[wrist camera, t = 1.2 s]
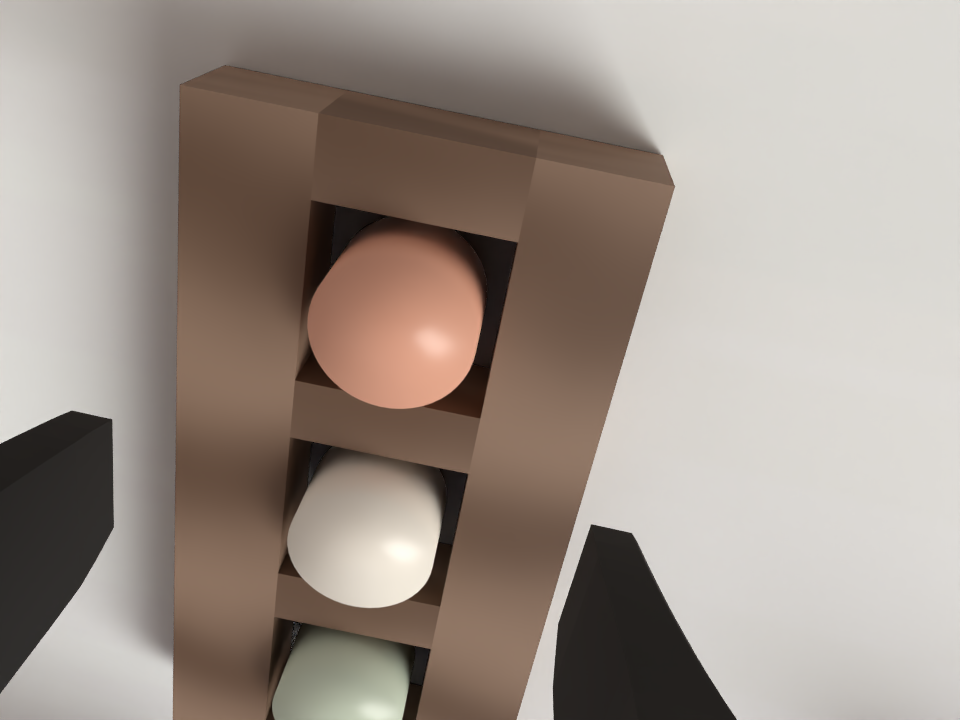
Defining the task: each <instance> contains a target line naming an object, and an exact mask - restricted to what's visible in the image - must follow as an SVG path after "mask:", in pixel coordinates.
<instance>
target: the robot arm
mask: <svg viewBox="0 0 960 720" xmlns="http://www.w3.org/2000/svg"><path fill="white" fill-rule="evenodd" d="M113 528H114V510H113V439H112V419H107V418H103V417H98V416H94V415H89V414H85V413H80V412H75V411H70V412H68V413H65V414H63V415H60V416H58V417H56V418H54V419H51V420H49V421H47V422H45V423H43V424H41V425H38V426H36V427H34V428H32V429H30V430H28V431H26V432H24V433H22V434H20V435H18V436H15V437H13V438H11V439H9V440H7V441H5V442H3V443H1V444H0V693H1V692H2V690H3V689H4V688H5V687H6V685H7V684H8V683H9V681H10V680H11V679H12V677H13V676H14V675H15V673H16V672H17V671H18V669H19V668H20V667H21V665H22V664H23V663H24V661H25V660H26V659H27V657H28V656H29V655H30V654H31V652H32V651H33V650H34V648H35V647H36V646H37V644H38V643H39V642H40V640H41V639H42V638H43V636H44V635H45V634H46V632H47V631H48V630H49V628H50V627H51V626H52V624H53V623H54V622H55V620H56V619H57V618H58V616H59V615H60V614H61V612H62V611H63V610H64V608H65V607H66V606H67V604H68V603H69V601H70V600H71V599H72V597H73V596H74V595H75V593H76V592H77V590H78V589H79V588H80V586H81V585H82V583H83V581H84V580H85V578H86V576H87V574H88V573H89V571H90V569H91V568H92V566H93V564H94V562H95V561H96V559H97V557H98V555H99V553H100V552H101V550H102V548H103V546H104V544H105V542H106V541H107V539H108V537H109V535H110V533H111V531H112V530H113ZM553 710H554V720H737V719H736V718H735V716H734V715H733V713H732V712H731V710H730V709H729V707H728V706H727V704H726V703H725V701H724V700H723V698H722V697H721V695H720V693H719V692H718V690H717V689H716V687H715V686H714V684H713V682H712V681H711V679H710V678H709V676H708V675H707V673H706V671H705V670H704V668H703V666H702V665H701V663H700V661H699V660H698V658H697V656H696V655H695V653H694V651H693V649H692V647H691V646H690V644H689V642H688V640H687V639H686V637H685V635H684V633H683V631H682V630H681V628H680V626H679V624H678V623H677V621H676V619H675V617H674V615H673V613H672V611H671V610H670V608H669V606H668V604H667V602H666V600H665V598H664V596H663V594H662V592H661V590H660V588H659V586H658V584H657V582H656V580H655V578H654V576H653V574H652V572H651V570H650V568H649V566H648V564H647V562H646V560H645V558H644V555H643V553H642V551H641V549H640V547H639V545H638V543H637V541H636V539H635V538H634V536H633V534H632V533H628V532H624V531H619V530H615V529H610V528H606V527H601V526H596V525H592V524H591V527H590V530H589V533H588V536H587V539H586V542H585V545H584V548H583V551H582V554H581V557H580V560H579V563H578V566H577V569H576V572H575V575H574V578H573V581H572V584H571V587H570V590H569V593H568V596H567V599H566V602H565V605H564V608H563V611H562V614H561V617H560V620H559V623H558V633H557V644H556V655H555V667H554V681H553Z"/></svg>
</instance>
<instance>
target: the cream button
mask: <svg viewBox="0 0 960 720" xmlns="http://www.w3.org/2000/svg"><path fill="white" fill-rule="evenodd" d="M446 500H447V490H446V485H445V481H444V478H443V476H442V474H441V472H440V470H439V468H438V467H433V466H428V465H423V464H418V463H413V462H408V461H403V460H399V459H394V458H389V457H384V456H379V455H374V454H369V453H365V452H360V451H355V450H350V449H345V448H340V447H335V446H333V447H332V448H330V449H329V450H328V451H327V452H326V453H325V455H324V456H323V457H322V459H321V460H320V462H319V464H318V466H317V468H316V471H315V473H314V475H313V477H312V479H311V481H310V484H309V486H308V488H307V490H306V492H305V494H304V497H303V499H302V501H301V503H300V505H299V507H298V510H297V512H296V514H295V516H294V518H293V520H292V522H291V525H290V528H289V531H288V537H287V545H288V552H289V555H290V558H291V561H292V563H293V565H294V567H295V569H296V570H297V572H298V573H299V575H300V576H301V577H302V578H303V579H304V580H305V581H306V582H307V583H308V584H309V585H310V586H311V587H312V588H314V589H315V590H316V591H318V592H319V593H321V594H323V595H324V596H326V597H328V598H330V599H332V600H334V601H337V602H340V603H342V604H346V605H350V606H355V607H362V608H380V607H387V606H391V605H395V604H398V603H400V602H403V601H405V600H407V599H409V598H410V597H412V596H413V595H415V594H416V593H417V592H418V591H419V590H420V589H421V588H422V587H423V586H424V585H425V583H426V582H427V580H428V578H429V576H430V574H431V571H432V568H433V563H434V558H435V554H436V549H437V544H438V540H439V535H440V530H441V525H442V521H443V516H444V511H445V507H446Z"/></svg>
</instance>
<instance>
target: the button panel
mask: <svg viewBox="0 0 960 720" xmlns="http://www.w3.org/2000/svg"><path fill="white" fill-rule="evenodd" d="M674 188H675V185H674V183H673V180H672V178H671V175H670V173H669V170H668V167H667V165H666V162H665V160H664V157H663V155H659V154H654V153H650V152H645V151H640V150H635V149H630V148H625V147H620V146H615V145H611V144H606V143H601V142H596V141H591V140H586V139H581V138H577V137H572V136H567V135H562V134H557V133H552V132H547V131H543V130H538V129H533V128H528V127H523V126H518V125H513V124H508V123H504V122H499V121H494V120H489V119H484V118H479V117H474V116H470V115H465V114H460V113H455V112H450V111H445V110H440V109H436V108H431V107H426V106H421V105H416V104H411V103H406V102H401V101H397V100H392V99H387V98H382V97H377V96H372V95H367V94H363V93H358V92H353V91H348V90H343V89H338V88H333V87H328V86H324V85H319V84H314V83H309V82H304V81H299V80H294V79H290V78H285V77H280V76H275V75H270V74H265V73H260V72H256V71H251V70H246V69H241V68H236V67H231V66H226V65H225V66H222V67H220V68H218V69H215V70H213V71H211V72H208V73H206V74H204V75H201V76H199V77H197V78H194V79H192V80H190V81H187V82H185V83H183V84H180V115H179V205H178V296H177V386H176V477H175V567H174V658H173V720H275V719H274V716H273V711H272V702H273V698H274V695H275V692H276V690H277V687H278V684H279V682H280V679H281V677H282V674H283V671H284V669H285V666H286V663H287V661H288V658H289V656H290V647H291V637H292V628H293V621H297V622H302V623H306V624H311V625H316V626H321V627H326V628H331V629H336V630H341V631H345V632H350V633H355V634H360V635H365V636H370V637H375V638H379V639H384V640H389V641H394V642H399V643H404V644H409V645H413V646H418V647H423V648H428V649H430V651H429V655H428V660H427V665H426V670H425V674H424V679H423V684H422V686H420V685H415V684H409V689H408V694H407V699H406V703H405V708H404V713H403V718H402V720H516V719H517V716H518V712H519V709H520V706H521V702H522V699H523V696H524V692H525V689H526V685H527V682H528V679H529V675H530V672H531V669H532V665H533V662H534V659H535V655H536V652H537V648H538V645H539V642H540V638H541V635H542V632H543V628H544V625H545V622H546V618H547V615H548V611H549V608H550V605H551V601H552V598H553V595H554V591H555V588H556V585H557V581H558V578H559V574H560V571H561V568H562V564H563V561H564V558H565V554H566V551H567V548H568V544H569V541H570V537H571V534H572V531H573V527H574V524H575V521H576V517H577V514H578V511H579V507H580V504H581V500H582V497H583V494H584V490H585V487H586V484H587V480H588V477H589V474H590V470H591V467H592V464H593V460H594V457H595V453H596V450H597V447H598V443H599V440H600V437H601V433H602V430H603V427H604V423H605V420H606V416H607V413H608V410H609V406H610V403H611V400H612V396H613V393H614V390H615V386H616V383H617V379H618V376H619V373H620V369H621V366H622V363H623V359H624V356H625V353H626V349H627V346H628V342H629V339H630V336H631V332H632V329H633V326H634V322H635V319H636V316H637V312H638V309H639V305H640V302H641V299H642V295H643V292H644V289H645V285H646V282H647V279H648V275H649V272H650V269H651V265H652V262H653V258H654V255H655V252H656V248H657V245H658V242H659V238H660V235H661V232H662V228H663V225H664V221H665V218H666V215H667V211H668V208H669V205H670V201H671V198H672V195H673V191H674ZM336 205H338V206H343V207H348V208H353V209H357V210H362V211H367V212H372V213H377V214H382V215H387V216H391V217H396V218H401V219H406V220H411V221H416V222H421V223H425V224H430V225H435V226H440V227H445V228H450V229H455V230H460V231H464V232H469V233H474V234H479V235H484V236H489V237H494V238H498V239H503V240H508V241H513V242H516V247H515V251H514V256H513V261H512V265H511V270H510V275H509V280H508V284H507V289H506V294H505V298H504V303H503V308H502V312H501V317H500V322H499V327H498V331H497V336H496V341H495V345H494V350H493V355H492V359H491V364H490V368H486V367H481V366H476V365H471V368H470V370H469V372H468V373H467V375H466V376H465V378H464V379H463V381H462V382H461V383H460V384H459V385H458V386H457V387H456V388H455V389H454V390H453V391H452V392H450V393H449V394H448V395H446V396H445V397H443V398H441V399H439V400H437V401H435V402H433V403H430V404H427V405H424V406H420V407H415V408H407V409H392V408H385V407H379V406H376V405H372V404H369V403H366V402H364V401H361V400H359V399H357V398H355V397H353V396H351V395H350V394H348V393H347V392H345V391H344V390H342V389H341V388H340V387H339V386H338V385H336V384H335V383H334V382H333V381H332V380H331V379H330V378H329V377H328V376H327V375H326V373H325V372H324V371H323V369H322V368H321V366H320V365H319V363H318V361H317V360H316V358H315V356H314V353H313V351H312V348H311V345H310V341H309V337H308V329H307V322H308V312H309V307H310V304H311V301H312V298H313V296H314V294H315V292H316V290H317V288H318V287H319V285H320V284H321V282H322V281H323V280H324V278H325V277H326V275H327V274H328V272H329V268H330V259H331V249H332V239H333V229H334V220H335V210H336ZM312 442H316V443H321V444H326V445H331V446H335V447H340V448H345V449H350V450H355V451H360V452H365V453H369V454H374V455H379V456H384V457H389V458H394V459H399V460H403V461H408V462H413V463H418V464H423V465H428V466H433V467H438V468H442V469H447V470H452V471H457V472H462V473H467V477H466V482H465V486H464V491H463V496H462V500H461V505H460V510H459V514H458V519H457V524H456V529H455V533H454V538H453V543H452V545H449V544H444V543H439V542H438V544H437V549H436V554H435V558H434V563H433V568H432V571H431V574H430V576H429V578H428V580H427V582H426V583H425V585H424V586H423V587H422V588H421V589H420V590H419V591H418V592H417V593H416V594H415V595H413V596H412V597H410V598H409V599H407V600H405V601H403V602H400V603H398V604H395V605H391V606H387V607H380V608H362V607H355V606H350V605H346V604H342V603H340V602H337V601H334V600H332V599H330V598H328V597H326V596H324V595H323V594H321V593H319V592H318V591H316V590H315V589H314V588H312V587H311V586H310V585H309V584H308V583H307V582H306V581H305V580H304V579H303V578H302V577H301V576H300V575H299V573H298V572H297V570H296V569H295V567H294V565H293V563H292V561H291V558H290V555H289V552H288V545H287V537H288V531H289V528H290V525H291V522H292V520H293V518H294V516H295V514H296V512H297V510H298V507H299V505H300V503H301V501H302V499H303V497H304V494H305V492H306V490H307V482H308V472H309V463H310V453H311V443H312Z"/></svg>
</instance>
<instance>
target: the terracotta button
mask: <svg viewBox="0 0 960 720" xmlns="http://www.w3.org/2000/svg"><path fill="white" fill-rule="evenodd" d="M487 295H488V294H487V280H486V275H485V272H484V268H483V266H482V263H481V261H480V259H479V257H478V256H477V254H476V252H475V251H474V249H473V248H472V247H471V246H470V244H469V243H468V242H467V241H466V240H465V239H464V238H463V237H462V236H461V235H460V234H458V233H457V232H456V231H454V230H453V229H450V228H445V227H440V226H435V225H430V224H425V223H421V222H416V221H411V220H406V219H401V218H396V217H387V218H383V219H381V220H378V221H376V222H373V223H371V224H370V225H368V226H366V227H365V228H363V229H362V230H361V231H359V232H358V233H357V234H356V235H355V236H354V237H353V238H352V239H351V240H350V242H349V243H348V245H347V246H346V247H345V249H344V250H343V252H342V253H341V255H340V256H339V258H338V259H337V261H336V262H335V263H334V265H333V266H332V268H331V269H330V271H329V272H328V274H327V275H326V277H325V278H324V280H323V281H322V282H321V284H320V285H319V287H318V288H317V290H316V292H315V294H314V296H313V298H312V301H311V304H310V307H309V312H308V322H307V329H308V337H309V341H310V345H311V348H312V351H313V353H314V356H315V358H316V360H317V361H318V363H319V365H320V366H321V368H322V369H323V371H324V372H325V373H326V375H327V376H328V377H329V378H330V379H331V380H332V381H333V382H334V383H335V384H336V385H338V386H339V387H340V388H341V389H342V390H344V391H345V392H347V393H348V394H350V395H351V396H353V397H355V398H357V399H359V400H361V401H364V402H366V403H369V404H372V405H376V406H379V407H385V408H392V409H407V408H415V407H420V406H424V405H427V404H430V403H433V402H435V401H437V400H439V399H441V398H443V397H445V396H446V395H448V394H449V393H450V392H452V391H453V390H454V389H455V388H456V387H457V386H458V385H459V384H460V383H461V382H462V381H463V379H464V378H465V376H466V375H467V373H468V372H469V370H470V368H471V365H472V363H473V361H474V357H475V353H476V349H477V345H478V340H479V335H480V331H481V326H482V322H483V317H484V313H485V308H486V303H487Z"/></svg>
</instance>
